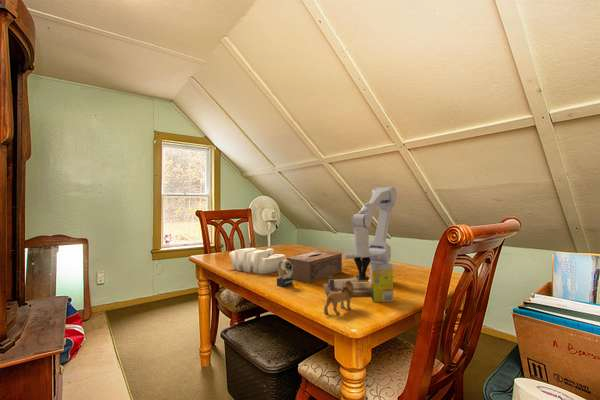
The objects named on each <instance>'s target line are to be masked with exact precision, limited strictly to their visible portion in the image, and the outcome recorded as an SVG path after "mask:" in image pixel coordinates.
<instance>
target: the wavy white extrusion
mask: <svg viewBox="0 0 600 400" xmlns="http://www.w3.org/2000/svg"><path fill="white" fill-rule="evenodd" d="M274 252H275V249H274V248H266V250H264V249H257V248H256V247H248V248H240V249H235V250H232V251H230V252H229V258H230V263H231V266H232V270H233V271H234V270H235V271H243V272H246V273H254V274H259V275H263V274H271V273H276V272H278V270H277V265H278V262H279V261H281V260H286V258H287V257H286V255H285V254H280V253H278V254H277V253H274ZM281 266H283V262H282V264H281Z"/></svg>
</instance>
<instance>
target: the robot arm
mask: <svg viewBox="0 0 600 400" xmlns="http://www.w3.org/2000/svg"><path fill="white" fill-rule="evenodd" d="M396 200H397V189H396V188H395V187H394V186H389V187H388V186H386V187H385V186H384V187H373V189H372V190H371V198H370V200H369V202H365V203H364V204H363V206H362V207H361V208H360V210H359V211H358V213H355V214H353V215H352V218H351V220H350V223H351V226H352V231H353V233H354V234H353V235H354V237H353V238H354V252H349V253H343V260H349V259H350V260H351V259H353V261H354V263H355V265H356V267H357V271H358V275H359V276H360V277H362V276H363V277H365V274H366V275H367V270H368V267H369V276H370V277H369V280H368V282H369V283H370V284H371V285H372V282H371V274H373V270H392V275H393V273H394V271H393V266H392V263H391V262H390V261H391V256H392V254H391V253H392V252H391V250H392V249H391V245H389V244H388V243H387V237H388V232H389V226H390V218H391V215H392V214H391V213H392V208H394V207H395V206H396V202H397V201H396ZM377 207H378V208H379V215H378V219H377V225H376V231H375V235H374V239H373V240H372V241H369V238H370V237H369V236H370V235H369V232H370V231H369V228H370V227H371V224H372V221H373V217H374V215H375V214H376V213H377ZM379 273H387V272H384V271H382V272H379ZM393 276H394V275H393ZM393 285H394V282H393Z"/></svg>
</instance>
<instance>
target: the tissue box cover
mask: <svg viewBox="0 0 600 400" xmlns="http://www.w3.org/2000/svg"><path fill="white" fill-rule="evenodd" d="M286 260H288V261H290V262H291V263H292V264H293V273H292V275H291V276H290V277H292V278H293V280H295V281H299V282H303V283H307V284H312V283H314V282H317V281H320V280H323V279H325V278H326V279H327V278H328V276H332V277H333V276H334V275H337V274H341V273H343V253H342V252H341V253H340V252H335V251H327V250H321V249H320V250H314V251H311V252H306V253H303V254H302V253H301V254H297V255H294V256H289V257H286ZM287 275H288V274H287V273H286V276H287Z"/></svg>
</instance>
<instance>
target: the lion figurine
mask: <svg viewBox="0 0 600 400" xmlns="http://www.w3.org/2000/svg"><path fill="white" fill-rule="evenodd" d="M353 297H354V296H353V284H352V283H351V281H349V280H345V281H343V283H342V289H341V291H339V292H331V293H329V294H328V297H327V296H326V302H325V305H324V307H323V308H324V309H323V313H324V314H325V316H328V314H329V311H328V307H329V306H330V305H331V303H332V305H333V309H332V310H333V311H334V313H335V314H337V315H340V313H341V312H340V311H338V310H337V307H338V304H339V303H340V308H345V304H344V302H346V308H347V310H351V309H352V307H351V299H352V298H353Z"/></svg>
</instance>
